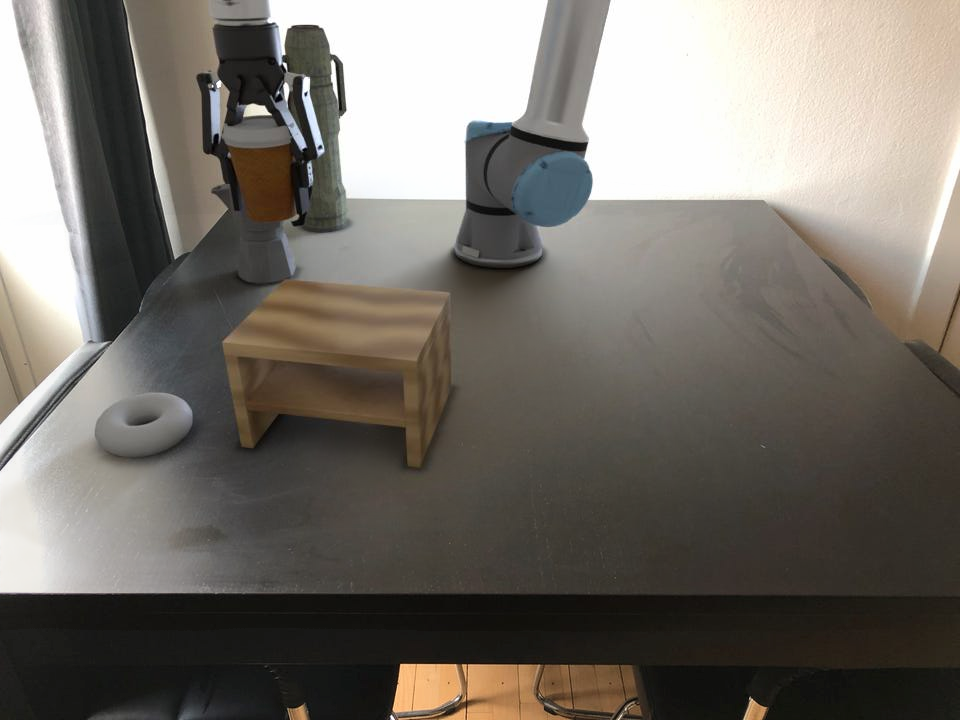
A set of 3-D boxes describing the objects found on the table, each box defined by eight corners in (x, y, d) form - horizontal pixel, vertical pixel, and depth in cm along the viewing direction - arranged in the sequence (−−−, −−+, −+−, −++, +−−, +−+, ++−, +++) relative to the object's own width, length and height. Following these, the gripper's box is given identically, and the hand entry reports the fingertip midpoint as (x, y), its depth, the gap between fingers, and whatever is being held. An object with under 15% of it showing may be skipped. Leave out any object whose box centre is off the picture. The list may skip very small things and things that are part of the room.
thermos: (363, 225, 142) (348, 26, 125) (305, 236, 137) (281, 30, 119) (343, 212, 149) (327, 22, 131) (287, 223, 143) (262, 25, 125)
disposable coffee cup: (291, 229, 93) (278, 132, 87) (222, 224, 95) (204, 129, 89) (320, 205, 102) (310, 115, 96) (256, 201, 103) (242, 112, 97)
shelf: (297, 373, 94) (285, 279, 88) (451, 388, 91) (450, 292, 85) (241, 447, 80) (221, 342, 74) (420, 468, 78) (416, 360, 71)
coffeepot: (229, 290, 116) (210, 176, 107) (222, 268, 123) (204, 160, 114) (327, 276, 121) (316, 166, 112) (315, 255, 128) (304, 151, 120)
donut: (96, 425, 84) (101, 474, 76) (88, 400, 82) (93, 446, 74) (188, 404, 88) (202, 448, 80) (182, 379, 86) (196, 421, 78)
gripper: (145, 23, 85) (185, 214, 96) (318, 26, 82) (338, 223, 93) (179, 16, 91) (212, 196, 103) (340, 19, 88) (356, 204, 100)
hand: (272, 209), depth 98 cm, fingers closed on disposable coffee cup, 8 cm apart
